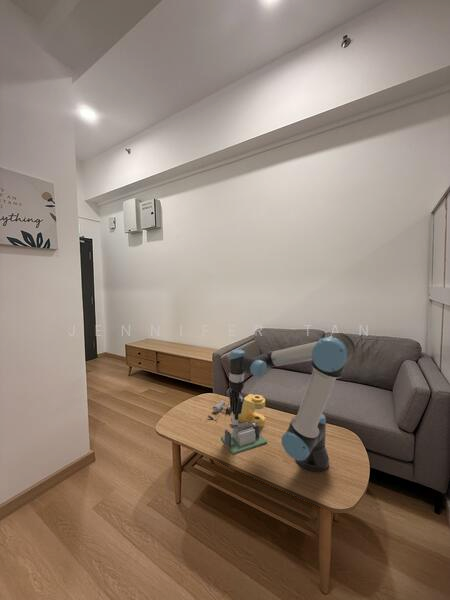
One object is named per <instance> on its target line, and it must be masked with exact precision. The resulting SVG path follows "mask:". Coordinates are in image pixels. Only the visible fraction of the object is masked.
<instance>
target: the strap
mask: <svg viewBox="0 0 450 600" xmlns="http://www.w3.org/2000/svg"><path fill="white" fill-rule="evenodd" d="M228 426H229V428H231V430H232V429H233V428H244V427H251V428H252V427H256V425H255V424H254V423H253V422H252V421H251V422H250V423H242V422H238V425H234V426H233V425H232V423H230V424H229V425H228Z"/></svg>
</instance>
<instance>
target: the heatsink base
mask: <svg viewBox="0 0 450 600" xmlns="http://www.w3.org/2000/svg"><path fill="white" fill-rule="evenodd" d="M246 423H248V422H246ZM253 423H254V424H255V425H256V427H244V428H233V429H232V428H231V430H232V431H231V432H230V431H229V430H228V429H227V428H226V429H224V435H221V436H220V439H221V440H222V442H223V443H224V444H225V446H226V447H227V449H228V450H229V451H230V453H231V454H232V455H236V454H239V453H242V452H244V451H248V450H251V449H254V448H257V447H260V446H263V445H266V444H268V440H266V438H265V437H263V436H262V435H261V434H260V428H259V425H258V424H257V423H256V422H255V421H253Z"/></svg>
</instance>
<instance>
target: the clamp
mask: <svg viewBox="0 0 450 600" xmlns="http://www.w3.org/2000/svg"><path fill="white" fill-rule="evenodd" d="M243 398H244V401H243V405H242V411H241V414H238V422H239V423H246V422H248V423H250V422H251V421H252V422H253V421H255V422H256V423H257V424H258V425H259V429H261V428H263V427H265V424H266V418H265V416H264V415H263V414H261V413H257V412H255V410H263V409H264V408H265V407H266V399H265V398H264V396H263V395H260V394H254V393H249V394H248V395H246V396H245V397H243Z"/></svg>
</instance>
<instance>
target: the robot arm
mask: <svg viewBox="0 0 450 600" xmlns="http://www.w3.org/2000/svg"><path fill="white" fill-rule="evenodd" d="M353 340H354V339H353V338H351V337H350V336H349V335H348V334H346V333H341V332H336V333H332V334H329V336H326V337H320V338H319V339H318V341H314V342H309V343H305V344H301V345H296V346H295V345H294V346H291V347H287V348H283V349H279V350H273V351H266V352H265V353H263V354H259V355H258V356H255V357H249V356H246V352H245V351H244V350H243V349H233V350H231V351H230V354H229V355H230V356H229V373H228V374H229V375H228V376H229V377H228V379H229V380H228V393H229V397H228V398H229V405H230V408H232V411H231V424H232V425H233V426H234V425H238V423H239V421H238V414H241V411H242V405H243V401H244V398H245V397H243V395H242V390H243V389H244V388H245V387H244V386H245V384H244V383H245V382H244V380H245V373H247V374H250V375H252V376H255V377H259V378H261V377H262V378H263V377H264V376H265V374H266V373H267V370H268V369H270V368H275V367H280V366H285V365H290V364H296V363H304V362H309V361H311V363H310V365H311V368H312V369H313V370H312V373H311V376H310V378H309V380H308V383H307V386H306V390H305V391H304V394H303V398H302V400H301V403H300V407H299V409H298V411H297V414H296V415H294V416H293V417H292V418H291V420H290V423H289V426H288V427H287V430H286V431H285V432H284V433H283V434H282V436H281V445H282V447H283V449H284V452H285V453H286V454H287V455H288V456H289V457H290V458H291V459H294V460H295V461H296V463H297V464H298V465H299V466H300V467H301V468H304V469H305V470H307V471H311V472H323V471H325V470H327V469H328V468H329V466H330V458H329V455H328V451H327V448H326V432H327V431H326V430H327V420H326V419H327V418H326V416H325V414H324V413H323V412H324V410H325V407H326V405H327V404H328V403H327V402H328V400H329V397H330V395H331V393H332V390H333V387H334V384H335V382H336V379H340V378H342V377H343V373H344V371H345V369H346V366H347V363H348V362H349V361H350V360H351V359H352V358H353V357H354V355H355V353H356V344H355V342H354V341H353Z"/></svg>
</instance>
